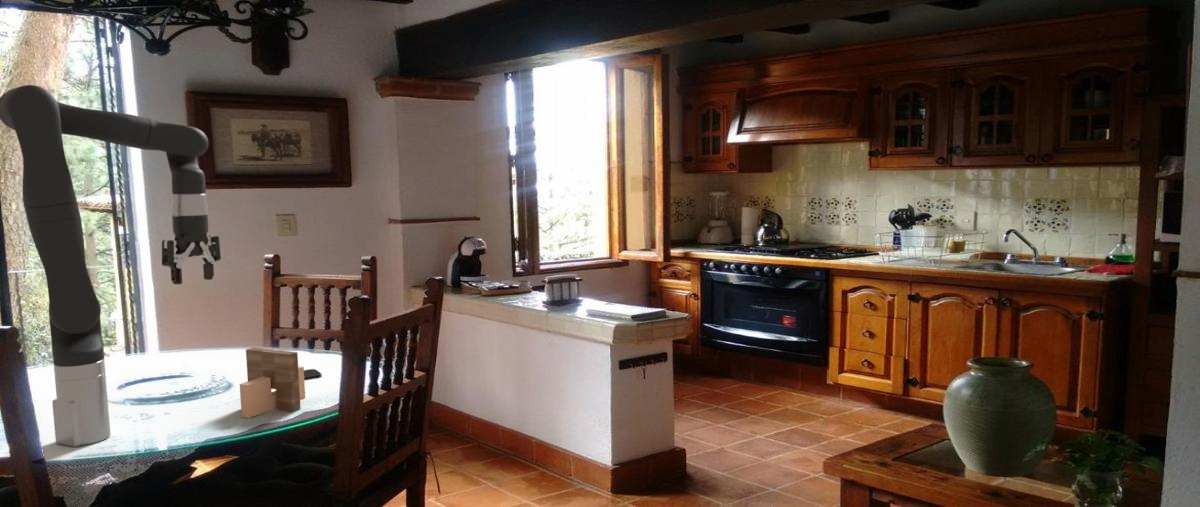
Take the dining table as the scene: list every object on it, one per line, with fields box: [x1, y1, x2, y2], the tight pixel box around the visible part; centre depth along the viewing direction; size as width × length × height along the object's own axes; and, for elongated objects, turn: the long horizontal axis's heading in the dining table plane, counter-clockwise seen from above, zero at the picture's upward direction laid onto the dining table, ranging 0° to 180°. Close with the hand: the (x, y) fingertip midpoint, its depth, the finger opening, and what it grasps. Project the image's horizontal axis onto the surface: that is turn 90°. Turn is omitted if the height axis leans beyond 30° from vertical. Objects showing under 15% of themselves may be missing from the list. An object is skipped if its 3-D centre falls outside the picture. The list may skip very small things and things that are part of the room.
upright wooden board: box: [245, 346, 301, 413], centre depth 200 cm, size 2×14×14 cm, turn 66°
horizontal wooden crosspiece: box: [239, 365, 306, 419], centre depth 200 cm, size 18×2×8 cm, turn 157°
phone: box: [304, 368, 323, 381], centre depth 227 cm, size 8×1×15 cm
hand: (193, 281), depth 195 cm, fingers open, 8 cm apart
